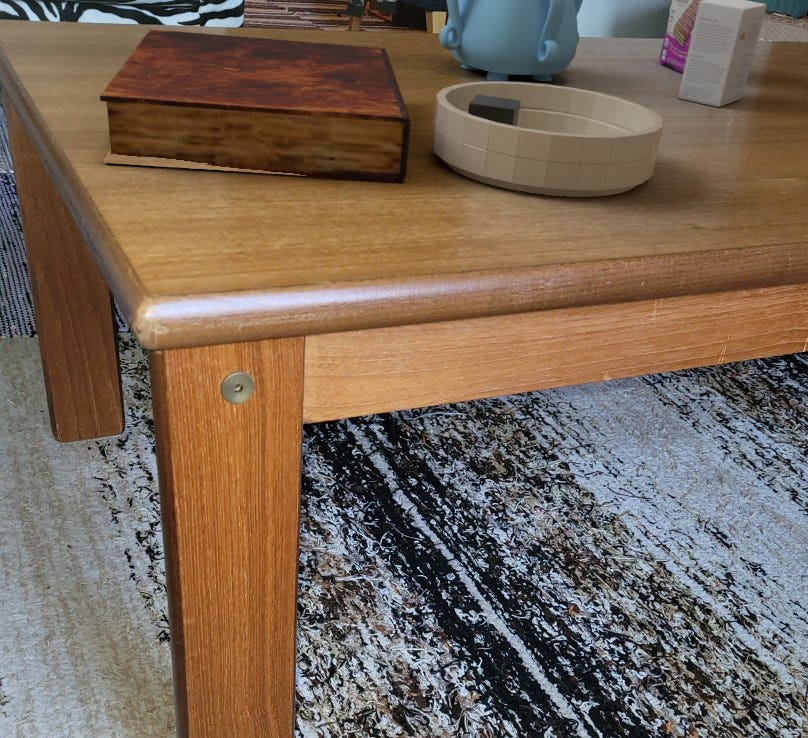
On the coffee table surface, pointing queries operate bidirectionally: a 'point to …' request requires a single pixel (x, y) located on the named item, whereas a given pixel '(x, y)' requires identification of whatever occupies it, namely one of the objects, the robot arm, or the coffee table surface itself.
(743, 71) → the small box
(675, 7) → the candy bar box
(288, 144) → the book
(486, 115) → the block
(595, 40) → the coffee table surface
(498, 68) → the decorative pot
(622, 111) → the bowl
